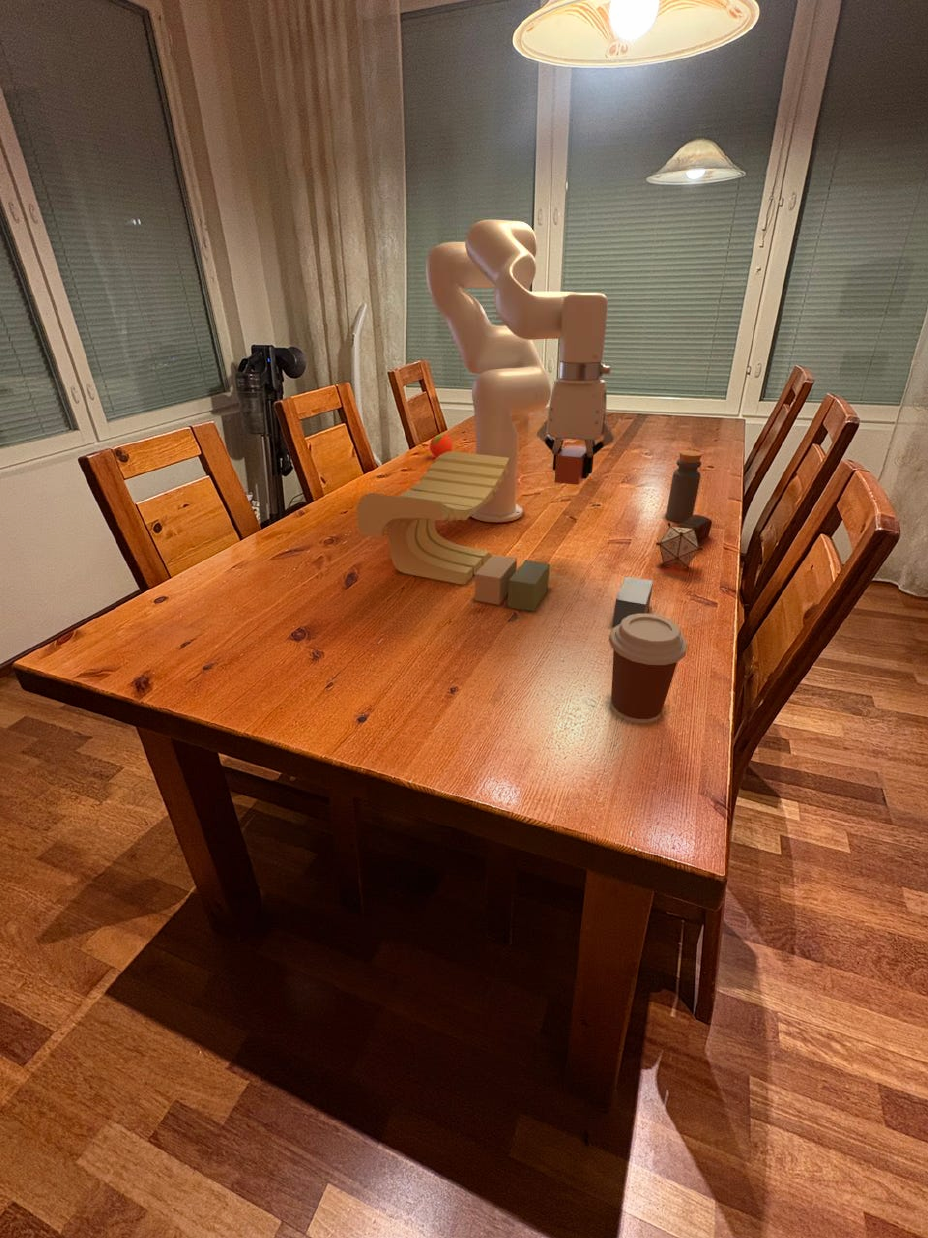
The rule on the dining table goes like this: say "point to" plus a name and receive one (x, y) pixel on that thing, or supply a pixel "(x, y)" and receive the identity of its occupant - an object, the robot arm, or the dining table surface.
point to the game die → (679, 546)
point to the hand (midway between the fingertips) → (572, 474)
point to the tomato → (440, 445)
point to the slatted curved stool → (434, 516)
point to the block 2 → (528, 585)
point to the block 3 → (632, 598)
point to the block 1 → (494, 579)
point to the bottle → (684, 487)
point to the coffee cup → (644, 665)
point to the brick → (698, 526)
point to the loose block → (570, 465)
